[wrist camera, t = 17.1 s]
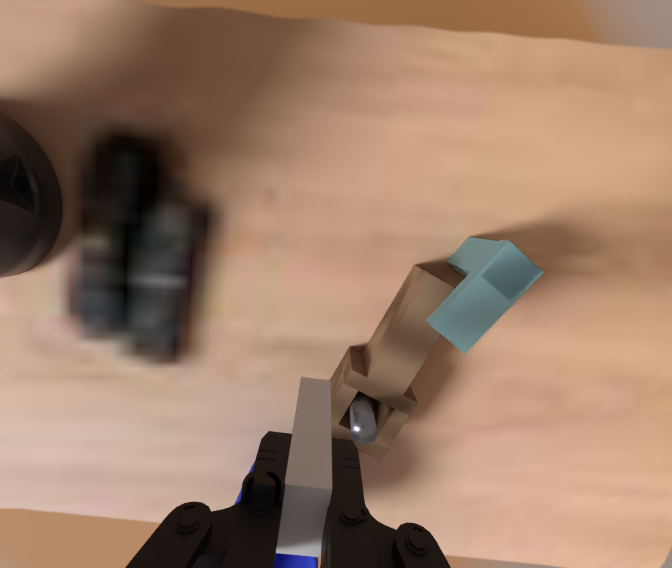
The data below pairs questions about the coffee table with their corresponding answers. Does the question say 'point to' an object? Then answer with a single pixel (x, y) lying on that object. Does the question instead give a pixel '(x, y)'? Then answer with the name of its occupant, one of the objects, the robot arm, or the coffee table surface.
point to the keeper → (482, 289)
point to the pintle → (362, 419)
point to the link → (389, 362)
